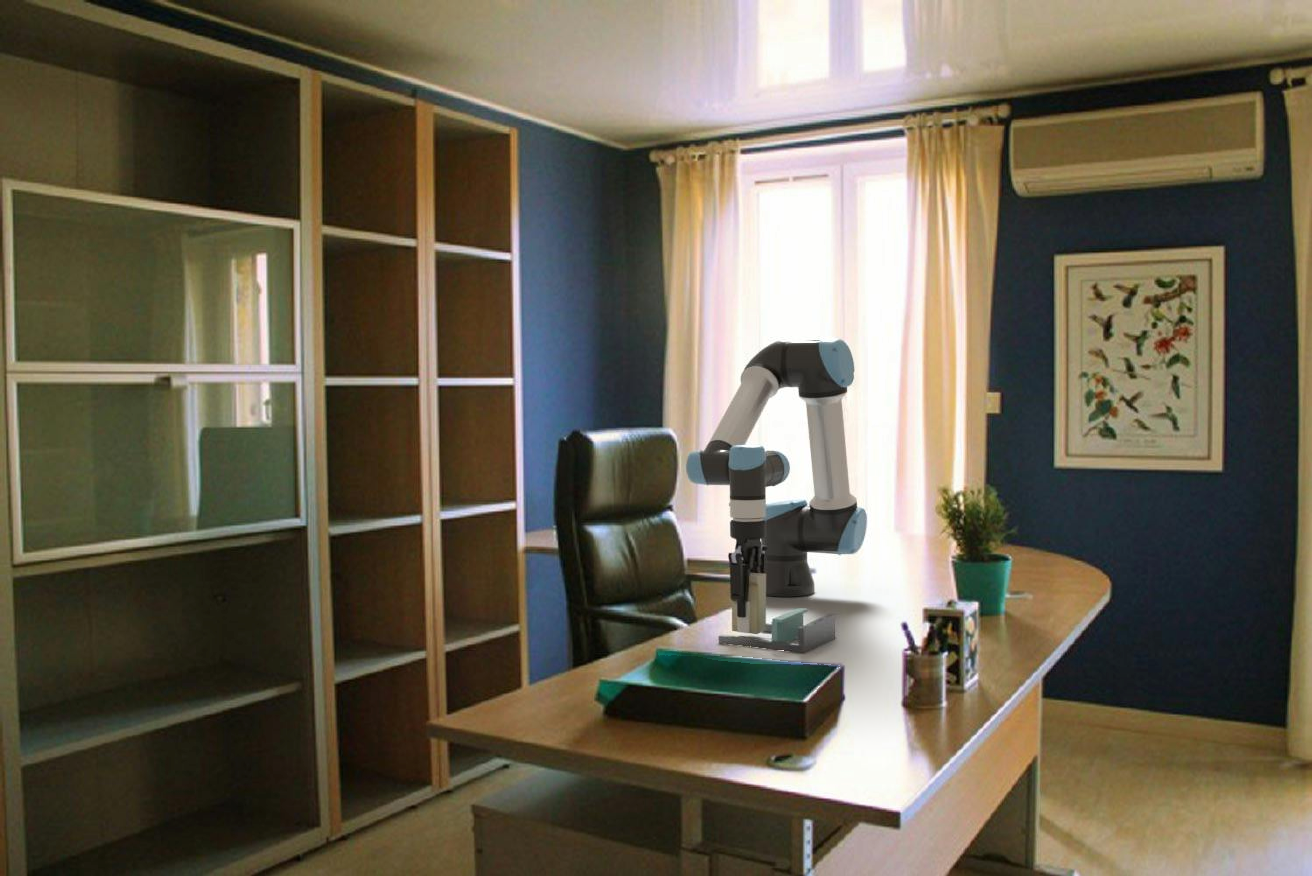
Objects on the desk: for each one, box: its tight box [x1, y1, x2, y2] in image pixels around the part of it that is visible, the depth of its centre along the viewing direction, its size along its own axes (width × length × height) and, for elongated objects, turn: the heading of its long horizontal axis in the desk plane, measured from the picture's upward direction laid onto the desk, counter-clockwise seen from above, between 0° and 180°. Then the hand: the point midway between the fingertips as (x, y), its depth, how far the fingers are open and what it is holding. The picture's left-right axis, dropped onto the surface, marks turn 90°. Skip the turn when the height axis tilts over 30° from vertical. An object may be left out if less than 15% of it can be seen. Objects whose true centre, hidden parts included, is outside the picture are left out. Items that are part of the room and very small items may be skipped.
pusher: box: [771, 607, 809, 643], centre depth 231 cm, size 12×4×6 cm, turn 148°
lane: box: [718, 613, 837, 655], centre depth 233 cm, size 15×19×5 cm
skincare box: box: [731, 573, 767, 635], centre depth 236 cm, size 6×4×12 cm
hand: (749, 629), depth 236 cm, fingers closed on skincare box, 4 cm apart
